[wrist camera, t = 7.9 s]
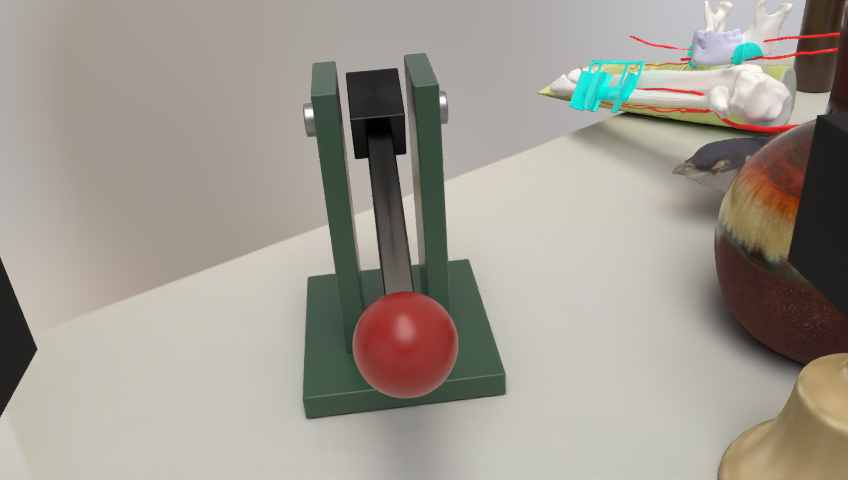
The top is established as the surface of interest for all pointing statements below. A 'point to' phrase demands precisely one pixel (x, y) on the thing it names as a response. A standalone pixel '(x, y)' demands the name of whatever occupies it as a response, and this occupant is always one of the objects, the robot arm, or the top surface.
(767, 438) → the hand bell
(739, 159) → the bird model
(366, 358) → the lever
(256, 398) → the top surface
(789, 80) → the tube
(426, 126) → the bracket
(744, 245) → the vase
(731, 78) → the bone model
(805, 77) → the walnut post
